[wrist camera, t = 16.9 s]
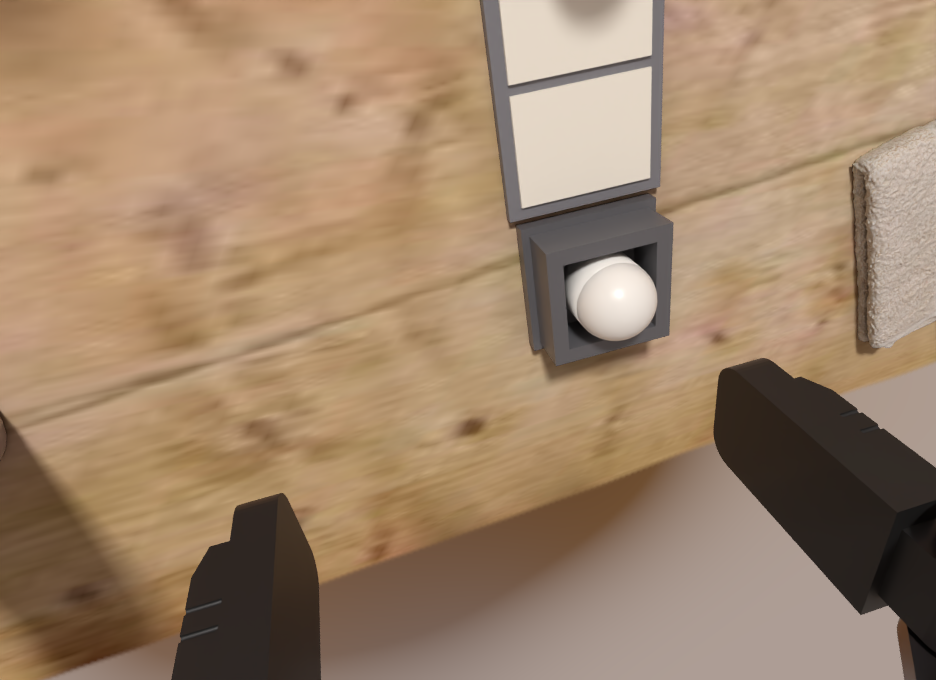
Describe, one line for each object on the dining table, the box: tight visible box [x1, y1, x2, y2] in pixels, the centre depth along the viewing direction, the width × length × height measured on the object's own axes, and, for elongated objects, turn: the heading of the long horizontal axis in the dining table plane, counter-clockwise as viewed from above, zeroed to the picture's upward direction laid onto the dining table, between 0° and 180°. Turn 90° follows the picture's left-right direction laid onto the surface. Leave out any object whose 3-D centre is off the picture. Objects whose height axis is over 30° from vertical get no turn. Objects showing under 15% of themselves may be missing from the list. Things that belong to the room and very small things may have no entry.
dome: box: [564, 251, 657, 341], centre depth 36 cm, size 5×5×6 cm
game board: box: [480, 0, 664, 223], centre depth 31 cm, size 10×22×1 cm, turn 9°
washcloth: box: [852, 120, 936, 348], centre depth 44 cm, size 12×18×3 cm, turn 25°
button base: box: [516, 193, 673, 366], centre depth 38 cm, size 9×9×4 cm
